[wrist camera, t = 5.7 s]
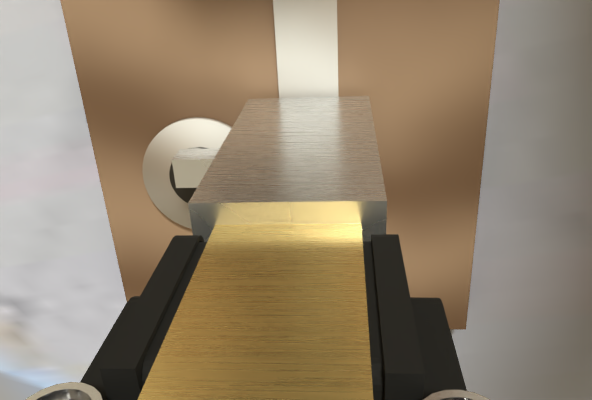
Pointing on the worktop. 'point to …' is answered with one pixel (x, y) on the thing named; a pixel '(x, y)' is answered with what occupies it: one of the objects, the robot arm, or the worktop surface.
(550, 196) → the worktop surface
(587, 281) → the worktop surface
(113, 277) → the worktop surface
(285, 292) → the block
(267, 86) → the bolt plate
